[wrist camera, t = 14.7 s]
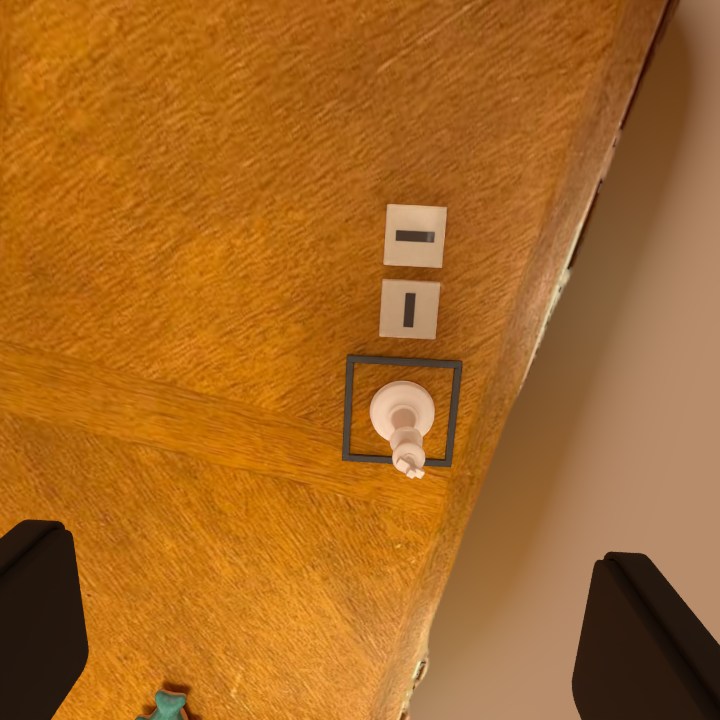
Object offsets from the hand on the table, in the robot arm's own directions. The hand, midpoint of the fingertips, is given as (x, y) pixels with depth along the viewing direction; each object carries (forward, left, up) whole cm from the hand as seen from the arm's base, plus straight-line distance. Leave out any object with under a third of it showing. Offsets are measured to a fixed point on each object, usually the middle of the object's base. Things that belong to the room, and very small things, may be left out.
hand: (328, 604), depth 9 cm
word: (+1, +3, -28) cm, 28 cm away
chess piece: (+7, +3, -28) cm, 29 cm away
